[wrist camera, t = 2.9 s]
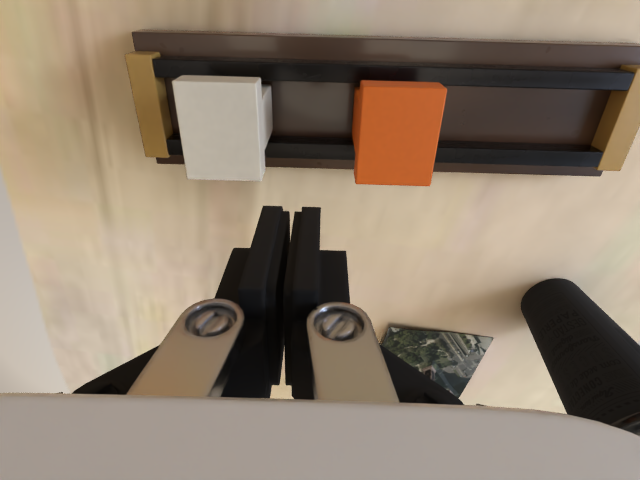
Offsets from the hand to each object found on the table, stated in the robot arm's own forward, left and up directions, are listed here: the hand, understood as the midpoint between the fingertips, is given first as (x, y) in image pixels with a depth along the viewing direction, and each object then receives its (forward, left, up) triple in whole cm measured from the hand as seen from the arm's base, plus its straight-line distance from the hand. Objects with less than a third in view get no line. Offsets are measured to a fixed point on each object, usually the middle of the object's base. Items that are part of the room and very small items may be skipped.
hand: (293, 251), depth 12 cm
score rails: (0, +5, -16) cm, 17 cm away
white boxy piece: (0, -4, -16) cm, 16 cm away
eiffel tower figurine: (+27, +11, -18) cm, 34 cm away
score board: (0, +5, -17) cm, 18 cm away
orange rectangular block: (0, +5, -16) cm, 16 cm away
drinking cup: (+16, +21, -18) cm, 31 cm away
